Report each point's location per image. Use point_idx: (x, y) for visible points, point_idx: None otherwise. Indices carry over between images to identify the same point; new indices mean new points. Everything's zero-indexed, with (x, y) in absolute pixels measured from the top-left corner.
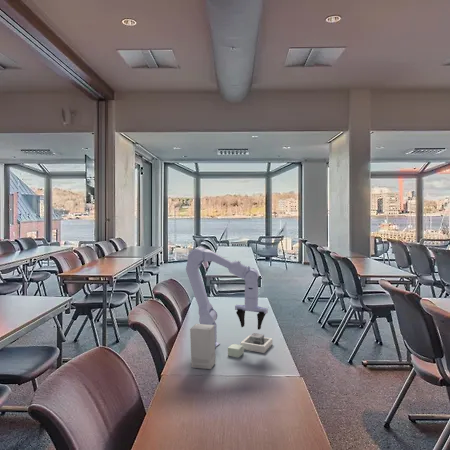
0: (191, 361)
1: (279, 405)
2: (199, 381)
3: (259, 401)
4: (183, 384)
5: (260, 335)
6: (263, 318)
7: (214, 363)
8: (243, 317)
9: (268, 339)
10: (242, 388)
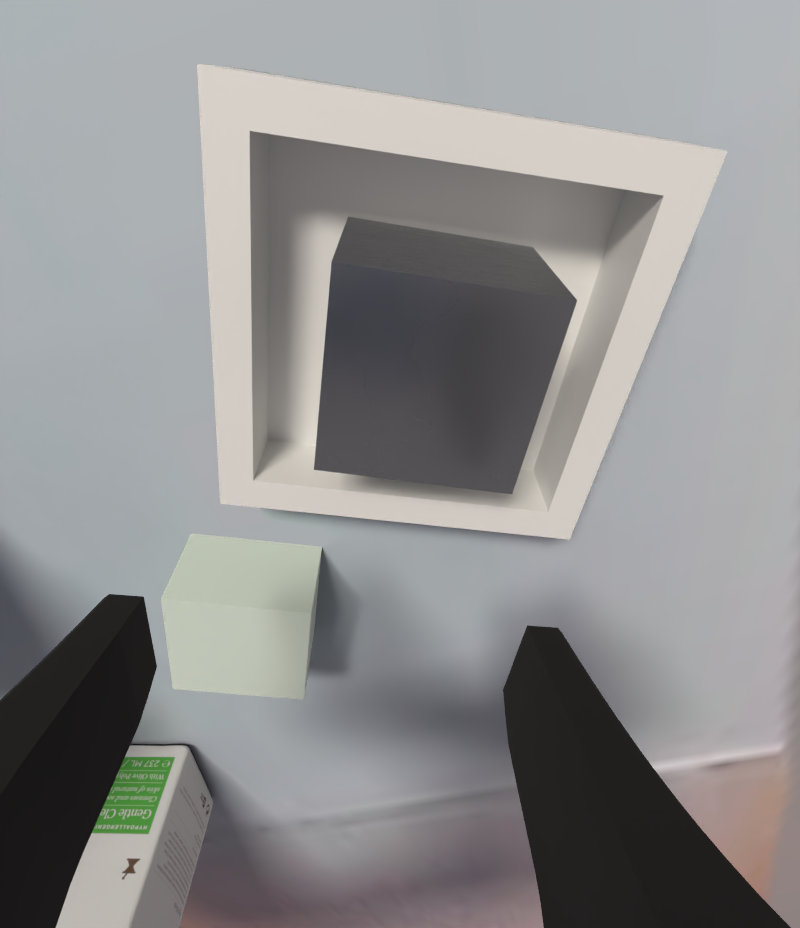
0: None
1: None
2: (233, 871)
3: None
4: None
5: (503, 370)
6: (746, 882)
7: (194, 767)
8: (16, 862)
9: (634, 190)
10: (463, 873)
